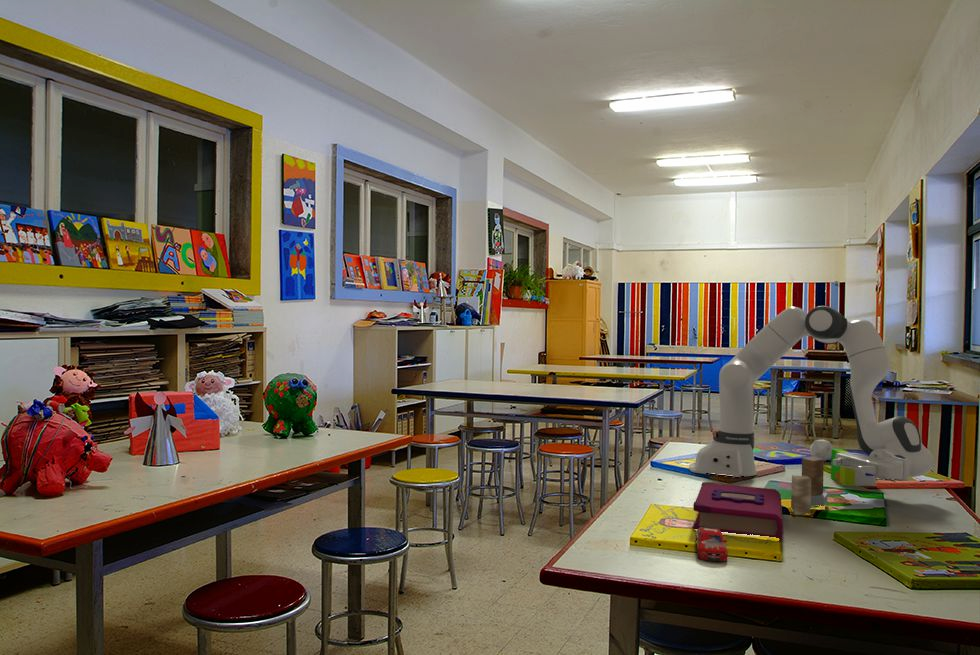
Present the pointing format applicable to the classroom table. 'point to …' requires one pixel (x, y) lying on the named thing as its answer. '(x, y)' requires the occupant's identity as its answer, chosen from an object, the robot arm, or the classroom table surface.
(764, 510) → the book
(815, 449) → the grey rounded lump
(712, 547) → the race car
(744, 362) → the robot arm
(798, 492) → the maple block
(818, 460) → the walnut block
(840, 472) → the puzzle toy
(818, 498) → the slate block
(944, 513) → the classroom table surface
